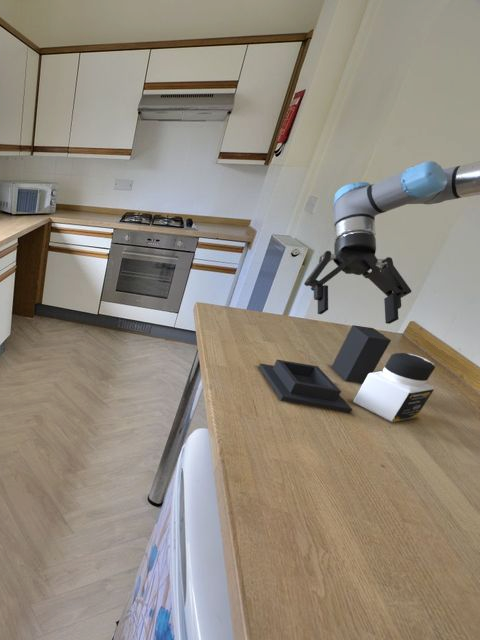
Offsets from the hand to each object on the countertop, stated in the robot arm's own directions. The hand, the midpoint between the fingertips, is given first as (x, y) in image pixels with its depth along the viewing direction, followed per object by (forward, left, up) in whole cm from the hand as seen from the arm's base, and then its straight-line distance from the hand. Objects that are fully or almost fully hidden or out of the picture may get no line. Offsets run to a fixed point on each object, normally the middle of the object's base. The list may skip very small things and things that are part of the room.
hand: (356, 316), depth 96 cm
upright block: (-3, +6, -12) cm, 14 cm away
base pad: (+5, +22, -12) cm, 26 cm away
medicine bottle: (-8, +20, -12) cm, 25 cm away
